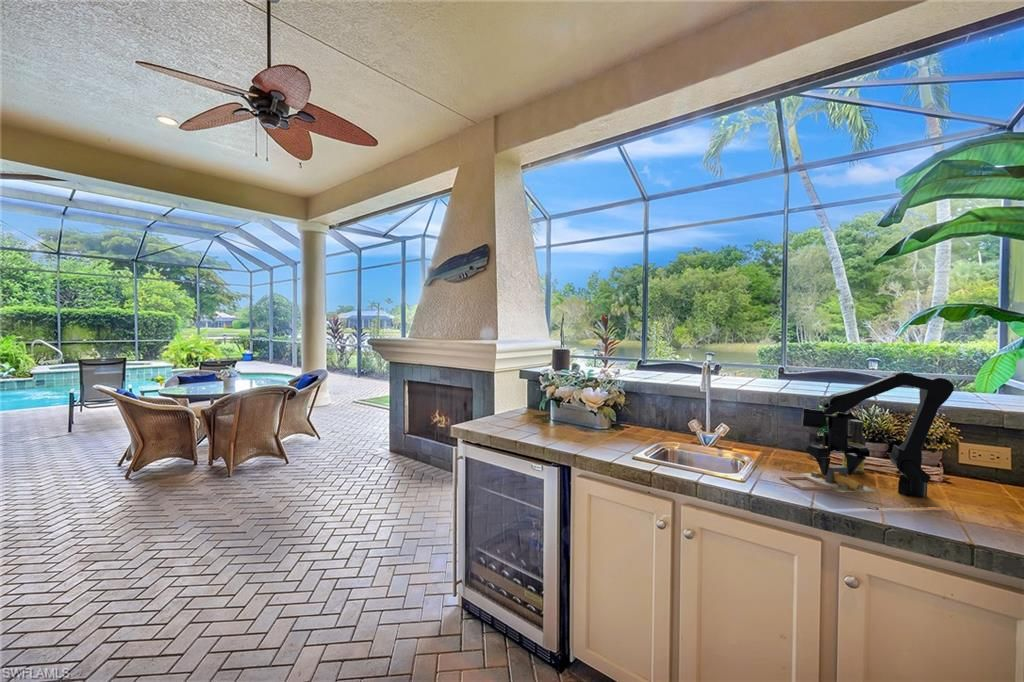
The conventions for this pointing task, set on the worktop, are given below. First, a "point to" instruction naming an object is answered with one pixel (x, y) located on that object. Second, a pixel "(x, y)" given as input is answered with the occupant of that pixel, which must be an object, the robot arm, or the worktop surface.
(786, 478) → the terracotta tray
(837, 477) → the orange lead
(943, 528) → the worktop surface
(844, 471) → the dark gray horseshoe block
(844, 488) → the cradle board
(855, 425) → the sauce bottle
